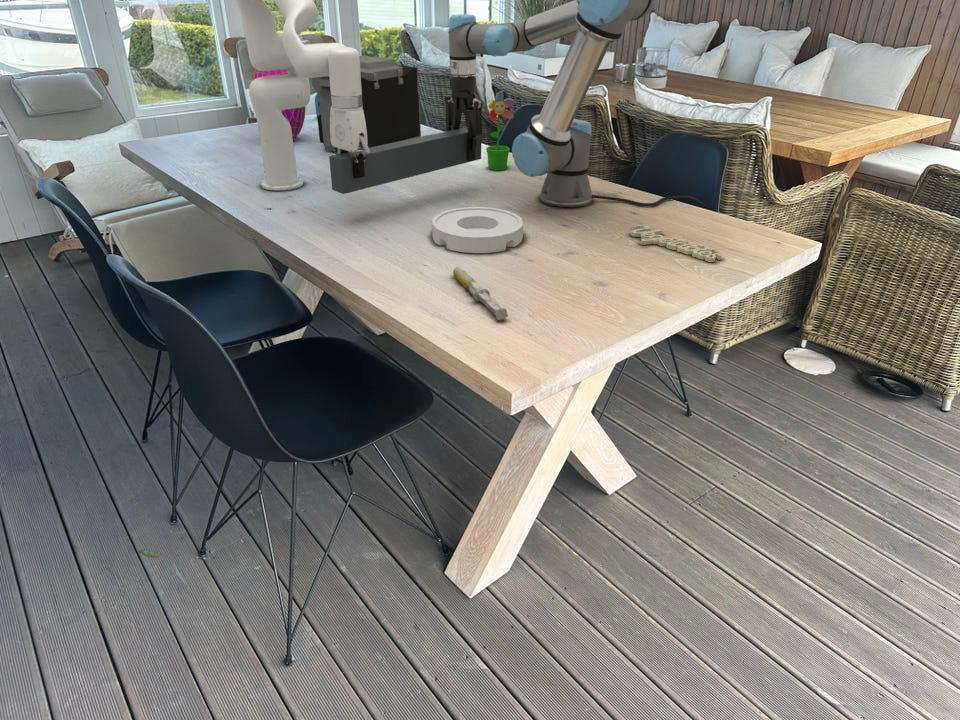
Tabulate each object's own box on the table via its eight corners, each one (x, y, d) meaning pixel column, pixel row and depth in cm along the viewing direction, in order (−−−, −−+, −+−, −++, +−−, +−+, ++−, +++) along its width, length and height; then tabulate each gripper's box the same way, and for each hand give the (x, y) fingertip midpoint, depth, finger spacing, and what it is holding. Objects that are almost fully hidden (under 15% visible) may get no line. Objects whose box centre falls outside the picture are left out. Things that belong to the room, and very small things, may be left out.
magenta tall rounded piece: (293, 132, 276) (283, 50, 261) (319, 140, 264) (310, 56, 249) (249, 139, 265) (236, 54, 250) (273, 148, 253) (261, 60, 238)
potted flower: (491, 172, 228) (493, 92, 215) (480, 166, 234) (481, 88, 221) (516, 168, 232) (519, 90, 219) (504, 163, 238) (506, 86, 225)
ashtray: (436, 220, 186) (436, 206, 184) (521, 222, 186) (522, 207, 184) (428, 252, 166) (427, 236, 164) (523, 254, 166) (524, 238, 164)
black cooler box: (383, 133, 276) (378, 52, 261) (425, 141, 265) (422, 56, 250) (314, 150, 251) (304, 61, 235) (358, 160, 240) (350, 67, 224)
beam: (469, 155, 211) (470, 126, 207) (481, 159, 208) (481, 129, 204) (332, 189, 179) (328, 156, 175) (343, 194, 177) (340, 159, 172)
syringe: (449, 274, 155) (449, 263, 153) (465, 272, 156) (464, 260, 154) (490, 323, 135) (491, 310, 133) (508, 319, 136) (508, 307, 134)
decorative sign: (617, 232, 177) (640, 223, 183) (616, 235, 177) (640, 227, 183) (706, 262, 160) (729, 252, 166) (705, 266, 160) (728, 255, 166)
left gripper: (314, 98, 173) (321, 171, 182) (356, 109, 163) (361, 185, 172) (338, 95, 177) (344, 165, 187) (380, 105, 167) (384, 179, 177)
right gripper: (431, 73, 198) (434, 155, 209) (477, 79, 187) (477, 165, 198) (449, 71, 202) (451, 151, 214) (495, 77, 192) (494, 161, 203)
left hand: (352, 174), depth 179 cm, fingers closed on beam, 5 cm apart
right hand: (464, 158), depth 206 cm, fingers closed on beam, 5 cm apart
